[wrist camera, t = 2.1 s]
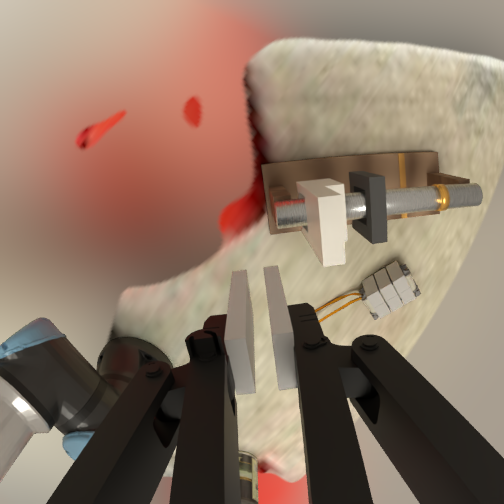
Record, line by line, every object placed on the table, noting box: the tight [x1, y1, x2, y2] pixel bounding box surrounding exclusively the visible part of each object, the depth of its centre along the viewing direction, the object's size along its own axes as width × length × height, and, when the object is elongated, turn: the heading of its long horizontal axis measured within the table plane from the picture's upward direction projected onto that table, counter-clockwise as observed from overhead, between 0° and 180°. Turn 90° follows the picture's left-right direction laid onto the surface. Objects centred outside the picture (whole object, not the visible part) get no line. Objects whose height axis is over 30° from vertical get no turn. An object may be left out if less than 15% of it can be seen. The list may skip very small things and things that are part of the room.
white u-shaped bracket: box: [296, 178, 348, 267], centre depth 32 cm, size 4×6×12 cm, turn 8°
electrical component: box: [315, 261, 421, 323], centre depth 51 cm, size 24×6×5 cm, turn 127°
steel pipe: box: [274, 183, 483, 229], centre depth 34 cm, size 27×3×3 cm, turn 98°
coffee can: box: [239, 451, 258, 504], centre depth 59 cm, size 10×10×14 cm
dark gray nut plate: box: [349, 171, 387, 244], centre depth 35 cm, size 2×7×7 cm, turn 9°
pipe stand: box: [261, 152, 470, 235], centre depth 41 cm, size 28×10×10 cm, turn 98°
